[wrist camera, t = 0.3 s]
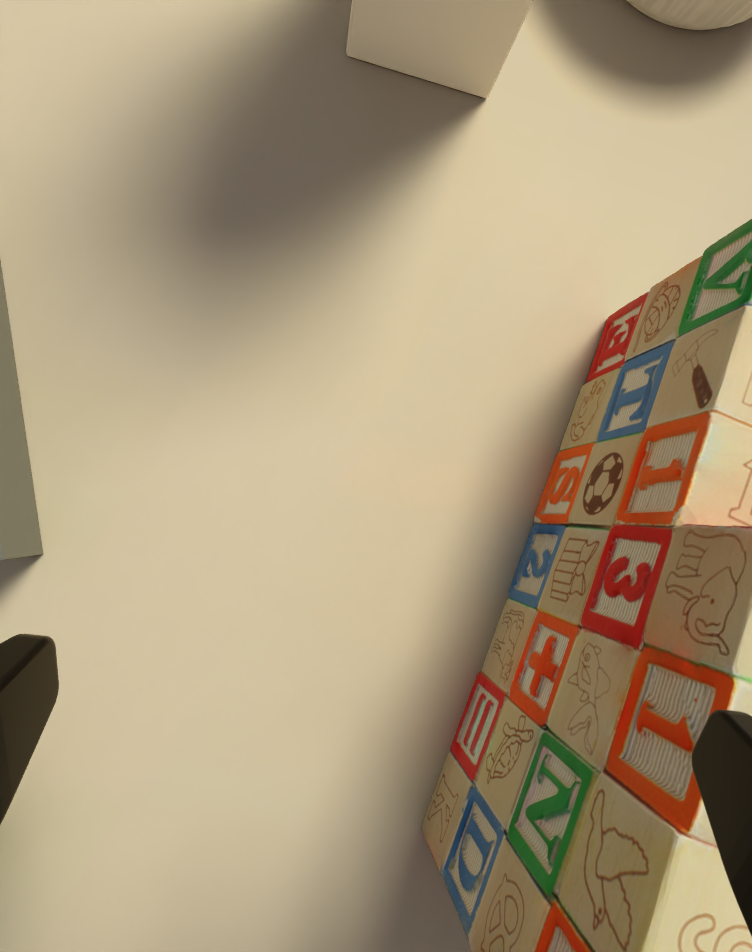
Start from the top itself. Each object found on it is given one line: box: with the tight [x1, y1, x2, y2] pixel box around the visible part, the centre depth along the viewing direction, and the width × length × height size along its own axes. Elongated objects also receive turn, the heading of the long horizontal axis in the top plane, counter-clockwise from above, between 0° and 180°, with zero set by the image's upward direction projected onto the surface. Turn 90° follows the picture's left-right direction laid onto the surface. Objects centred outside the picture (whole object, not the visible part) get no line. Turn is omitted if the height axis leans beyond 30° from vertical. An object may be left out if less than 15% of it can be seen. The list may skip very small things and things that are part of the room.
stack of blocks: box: [422, 219, 752, 952], centre depth 18 cm, size 21×6×12 cm, turn 159°
